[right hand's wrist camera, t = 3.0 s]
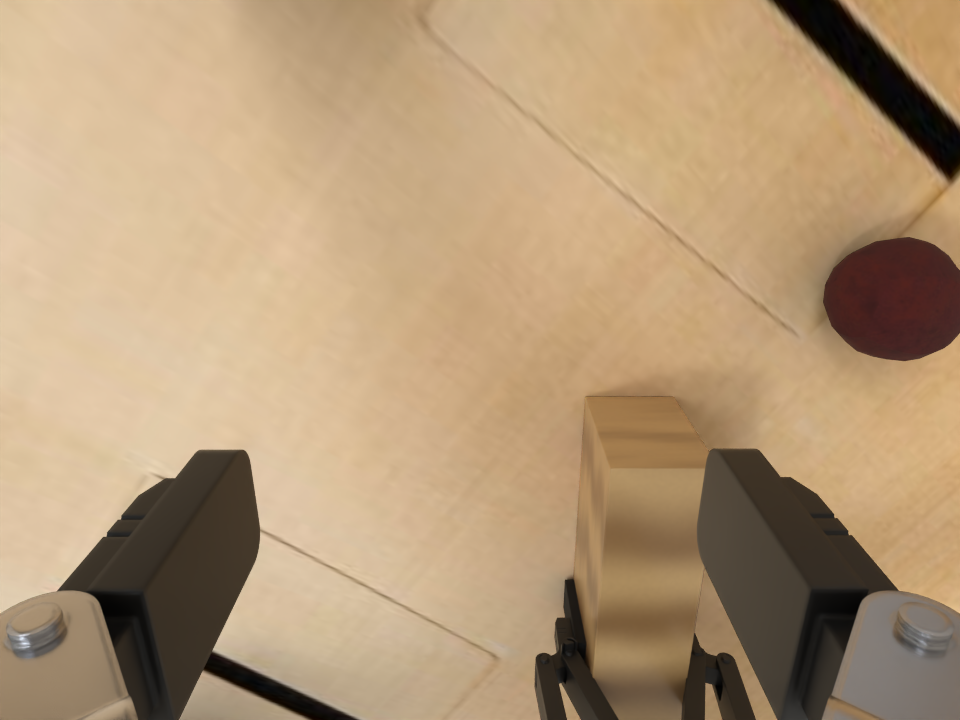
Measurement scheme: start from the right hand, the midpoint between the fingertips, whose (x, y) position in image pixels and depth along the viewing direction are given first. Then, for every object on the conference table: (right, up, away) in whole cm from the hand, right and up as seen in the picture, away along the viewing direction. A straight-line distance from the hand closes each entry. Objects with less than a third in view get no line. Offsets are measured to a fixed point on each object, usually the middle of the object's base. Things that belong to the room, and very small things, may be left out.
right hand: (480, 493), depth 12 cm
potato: (+25, +7, +32) cm, 42 cm away
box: (+11, -10, +39) cm, 42 cm away
